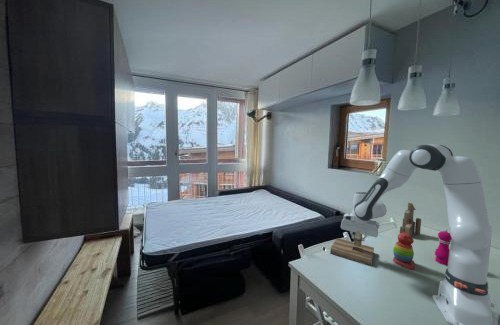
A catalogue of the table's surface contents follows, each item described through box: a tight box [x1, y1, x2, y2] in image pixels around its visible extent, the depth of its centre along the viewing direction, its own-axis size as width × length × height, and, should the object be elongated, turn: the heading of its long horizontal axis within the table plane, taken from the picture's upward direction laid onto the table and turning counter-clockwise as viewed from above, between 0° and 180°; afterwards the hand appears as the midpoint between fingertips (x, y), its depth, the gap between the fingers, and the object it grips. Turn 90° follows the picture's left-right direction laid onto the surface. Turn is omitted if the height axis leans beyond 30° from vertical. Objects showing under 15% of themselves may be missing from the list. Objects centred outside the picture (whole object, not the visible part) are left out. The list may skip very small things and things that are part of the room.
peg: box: [353, 230, 363, 247], centre depth 125 cm, size 4×4×10 cm
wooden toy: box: [399, 202, 422, 237], centre depth 157 cm, size 16×7×25 cm, turn 114°
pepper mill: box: [434, 228, 452, 266], centre depth 119 cm, size 7×7×20 cm
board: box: [329, 237, 375, 267], centre depth 127 cm, size 18×22×4 cm
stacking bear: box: [392, 232, 415, 270], centre depth 117 cm, size 11×10×18 cm
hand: (357, 239), depth 125 cm, fingers closed on peg, 4 cm apart
